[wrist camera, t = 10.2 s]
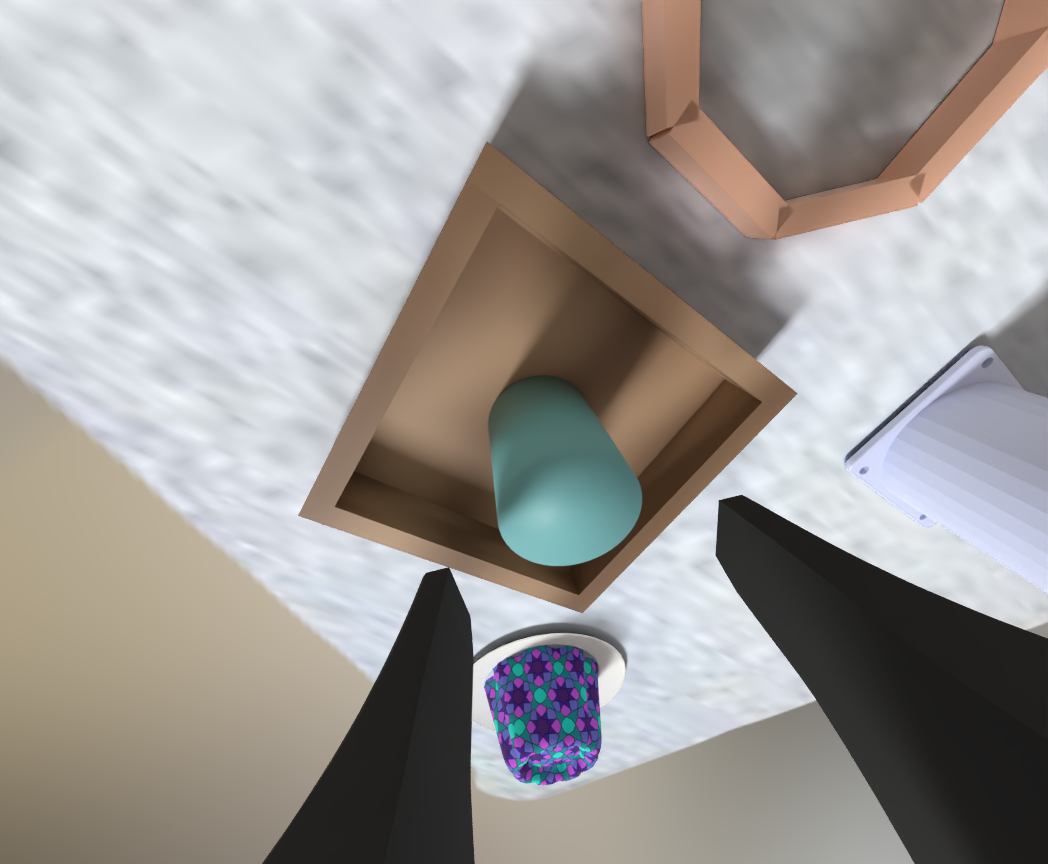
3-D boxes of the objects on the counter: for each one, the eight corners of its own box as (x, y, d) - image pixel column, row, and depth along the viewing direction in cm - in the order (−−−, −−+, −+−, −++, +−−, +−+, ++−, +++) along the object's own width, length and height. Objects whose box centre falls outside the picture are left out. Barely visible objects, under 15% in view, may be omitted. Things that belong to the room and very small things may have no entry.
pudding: (539, 597, 24) (557, 686, 19) (654, 659, 29) (689, 741, 24) (421, 695, 27) (412, 791, 23) (542, 735, 32) (555, 821, 27)
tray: (748, 367, 18) (797, 393, 15) (569, 567, 22) (582, 613, 20) (482, 157, 13) (486, 141, 10) (323, 471, 17) (298, 515, 15)
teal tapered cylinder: (582, 363, 16) (638, 433, 11) (597, 480, 19) (647, 579, 14) (476, 389, 16) (481, 472, 11) (508, 502, 19) (524, 610, 14)
